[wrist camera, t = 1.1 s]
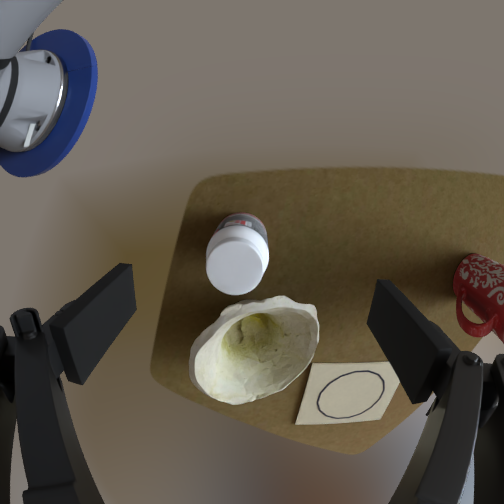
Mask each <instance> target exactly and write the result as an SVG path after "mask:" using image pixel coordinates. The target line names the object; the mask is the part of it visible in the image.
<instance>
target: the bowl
mask: <svg viewBox="0 0 504 504" xmlns="http://www.w3.org/2000/svg"><path fill="white" fill-rule="evenodd" d="M318 341H319V323H318V320H317V311H316V308H315V306H314V305H311V304H300V303H297V302H294V301H293V300H291V299H289V298H287V297H285V296H276V297H273V298H268V299H264V300H262V301H259V300H249V299H248V300H243V301H240V302H237V303H235V304H234V305H229V306H228V307H226V308H225V309H224V310H223V311H222V312H221V315H220V317H219V318H218V319H217V320H216V321H215V323H213V324H211V325H210V326H209V327H207V328H206V329H205V330H204V331H203V332H202V333H201V335H200V336H199V337H197V338H196V340H195V341H194V343H193V345H192V347H191V351H190V359H189V366H190V367H189V376H190V379H191V381H192V382H193V384H194V385H195V386H196V387H197V388H198V389H199V390H200V391H201V392H203V393H204V394H206V395H207V396H209V397H211V398H213V399H216V400H219V401H222V402H226V403H229V404H233V405H237V404H244V403H246V402H252V401H253V400H255V399H261V398H263V397H266V396H268V395H270V394H274V393H276V392H278V391H281V390H283V389H284V388H285V387H287V386H288V385H289V384H290V383H291V382H292V381H293V380H294V379H296V378H297V377H298V376H299V375H300V374H301V373H302V372H303V371H304V370H305V369H306V368H307V366H308V365H309V363H310V362H311V359H312V357H313V355H314V352H315V349H316V346H317V343H318Z"/></svg>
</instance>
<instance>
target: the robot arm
mask: <svg viewBox="0 0 504 504" xmlns="http://www.w3.org/2000/svg"><path fill="white" fill-rule="evenodd" d="M62 1H63V0H0V147H2V148H4V149H6V150H8V151H11V152H21V151H29V150H31V149H33V148H35V147H37V146H38V145H40V144H41V143H42V142H43V141H44V140H45V139H46V138H47V137H48V135H49V134H50V133H51V131H52V130H53V128H54V127H55V125H56V123H57V121H58V119H59V118H60V115H61V113H62V110H63V108H64V105H65V101H66V97H67V92H68V82H69V78H68V70H67V66H66V64H65V62H64V60H63V59H62V58H61V57H60V56H59V55H58V54H56V53H53V52H51V51H48V50H43V49H41V50H32V51H30V46H31V41H32V37H33V33H34V31H35V30H36V28H37V27H38V26H39V25H40V24H41V23H42V22H43V21H44V19H45V18H46V17H47V16H48V15H49V14H50V13H51V12H52V11H53V10H54V9H55V8H56V7H57V6H58V5H59V4H60V3H61V2H62ZM27 39H28V41H27ZM26 41H27V46H26V51H23V52H18V51H19V50H20V48H21V47H22V46H23V45H24V43H25V42H26ZM136 309H137V308H136V300H135V291H134V282H133V271H132V264H123V263H119V264H118V265H117V266H115V268H113V269H112V270H111V271H109V272H108V273H107V274H106V275H105V276H103V277H102V278H101V279H100V280H99V281H98V282H96V283H95V284H94V285H93V286H91V287H90V288H89V289H88V290H87V291H86V292H85V293H83V294H82V295H81V296H80V297H79V298H78V299H76V300H74V301H71V302H69V303H67V304H65V305H64V306H63V307H62V308H61V309H60V311H57V312H56V313H55V315H53V316H52V317H51V318H50V319H49V320H48V321H46V322H45V323H44V324H43V325H41V321H40V318H39V314H38V311H37V310H36V309H34V308H23V309H20V310H18V311H16V312H14V313H13V314H12V315H11V317H10V322H11V325H12V328H13V331H14V333H15V336H16V337H12V336H6V333H5V331H4V328H3V327H2V326H0V504H10V473H11V458H12V448H13V439H14V432H15V425H16V419H17V424H18V433H19V440H20V447H21V453H22V459H23V464H24V469H25V473H26V478H27V482H28V490H25V491H23V494H22V497H23V503H24V504H105V503H104V501H103V499H102V497H101V495H100V493H99V491H98V489H97V487H96V485H95V482H94V480H93V478H92V475H91V473H90V470H89V468H88V465H87V463H86V460H85V458H84V455H83V452H82V450H81V447H80V444H79V441H78V438H77V435H76V432H75V429H74V426H73V422H72V419H71V415H70V412H69V408H68V405H67V401H66V397H65V393H64V389H63V385H62V381H61V378H60V374H61V373H62V372H63V371H64V372H65V374H66V377H67V379H68V381H70V382H73V383H76V384H80V385H83V384H84V383H85V381H86V380H87V378H88V377H89V375H90V374H91V372H92V371H93V369H94V368H95V367H96V365H97V364H98V362H99V361H100V359H101V358H102V357H103V355H104V354H105V352H106V351H107V349H108V348H109V347H110V345H111V344H112V343H113V341H114V340H115V338H116V337H117V336H118V334H119V333H120V331H121V330H122V329H123V327H124V326H125V324H126V323H127V322H128V321H129V319H130V318H131V317H132V315H133V314H134V313H135V311H136ZM367 325H368V327H369V328H370V330H371V332H372V333H373V335H374V337H375V338H376V340H377V342H378V343H379V345H380V347H381V349H382V350H383V352H384V354H385V356H386V357H387V359H388V361H389V363H390V364H391V366H392V368H393V370H394V371H395V373H396V375H397V377H398V379H399V380H400V382H401V384H402V386H403V388H404V390H405V391H406V393H407V395H408V397H409V399H410V401H411V403H412V404H416V403H422V402H426V401H427V400H428V398H429V397H430V395H431V393H432V391H433V392H434V393H435V395H436V398H435V400H434V402H433V403H432V405H431V407H430V409H429V410H428V412H427V414H426V416H428V415H429V416H428V419H427V421H426V424H425V427H424V429H423V432H422V435H421V437H420V440H419V442H418V445H417V447H416V449H415V452H414V454H413V456H412V458H411V461H410V463H409V465H408V467H407V469H406V471H405V474H404V475H403V477H402V479H401V482H400V484H399V485H398V487H397V489H396V491H395V493H394V495H393V496H392V498H391V500H390V502H389V504H460V501H461V498H462V495H463V492H464V488H465V485H466V481H467V478H468V474H469V470H470V466H471V461H472V457H473V452H474V474H475V475H474V504H504V354H499V355H497V356H496V358H495V360H494V362H493V364H488V363H483V361H482V359H481V358H480V357H479V356H478V355H476V354H475V353H472V352H469V351H460V350H459V348H458V347H457V346H456V345H455V344H454V343H453V342H452V341H451V339H450V338H448V336H447V335H446V334H445V333H443V331H442V330H441V328H440V327H439V326H438V325H436V324H434V323H433V322H431V321H428V319H427V318H426V317H425V316H424V315H423V314H422V313H421V312H420V311H419V310H418V309H417V308H416V307H415V306H414V305H413V303H412V302H411V301H410V300H409V299H408V298H407V297H406V296H405V295H404V294H403V293H402V292H401V291H400V290H399V289H398V288H397V287H396V286H395V285H394V284H393V283H392V282H391V281H390V280H383V279H377V283H376V287H375V292H374V296H373V300H372V304H371V308H370V312H369V316H368V320H367ZM497 403H498V405H496V404H497Z"/></svg>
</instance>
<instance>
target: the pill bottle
mask: <svg viewBox="0 0 504 504" xmlns="http://www.w3.org/2000/svg"><path fill="white" fill-rule="evenodd" d="M206 260H207V262H206V272H207V276H208V278H209V280H210V282H211V283H212V285H213V286H214V287H215V288H217V289H218V290H219V291H221V292H223V293H226V294H230V295H241V294H245V293H247V292H250V291H251V290H253V289H254V288H255V287H256V286H257V285H258V284H259V282H260V281H261V279H262V276H263V273H264V272H265V270H266V268H267V265H268V261H269V249H268V239H267V232H266V229H265V227H264V225H263V224H262V222H261V221H260V220H259V219H258V218H257V217H255V216H253V215H251V214H248V213H234V214H231V215H229V216H227V217H226V218H225V219H223V220H222V222H221V223H220V224H219V226H218V227H217V229H216V231H215V233H214V234H213V236H212V238H211V240H210V241H209V244H208V247H207V251H206Z"/></svg>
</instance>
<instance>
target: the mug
mask: <svg viewBox="0 0 504 504" xmlns="http://www.w3.org/2000/svg"><path fill="white" fill-rule="evenodd" d="M453 290H454V293H455V295H456V296H457V300H456V314H457V320H458V323H459V325H460V327H461V328H462V329H463V330H464V331H465V332H466V333H467V334H469V335H471V336H473V337H483V336H486V335H487V334H489V333H490V332H491V331H493V332H494V333H495V334H496V335H497V336H498V337H499V339H500V340H501V341H502V342H503V343H504V265H502V264H500V263H497V262H495V261H493V260H491V259H489V258H486V257H484V256H482V255H479V254H471V255H469V256H467V257H466V258H465V259H463V261H462V262H461V263H460V264H459V266H458V268H457V270H456V272H455V275H454V279H453ZM462 302H463V303H464V304H465V305H467V306H468V307H469V308H470V309H471V310H472V311H473V312H474V313H475V314H476V315H477V316H478V317H479V318H480V319H481V320H482V321H483V322H484V323H482V324H476V323H473V322H471V321H469V320H468V319H467V318H466V317H465V316H464V314H463V312H462Z"/></svg>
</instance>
